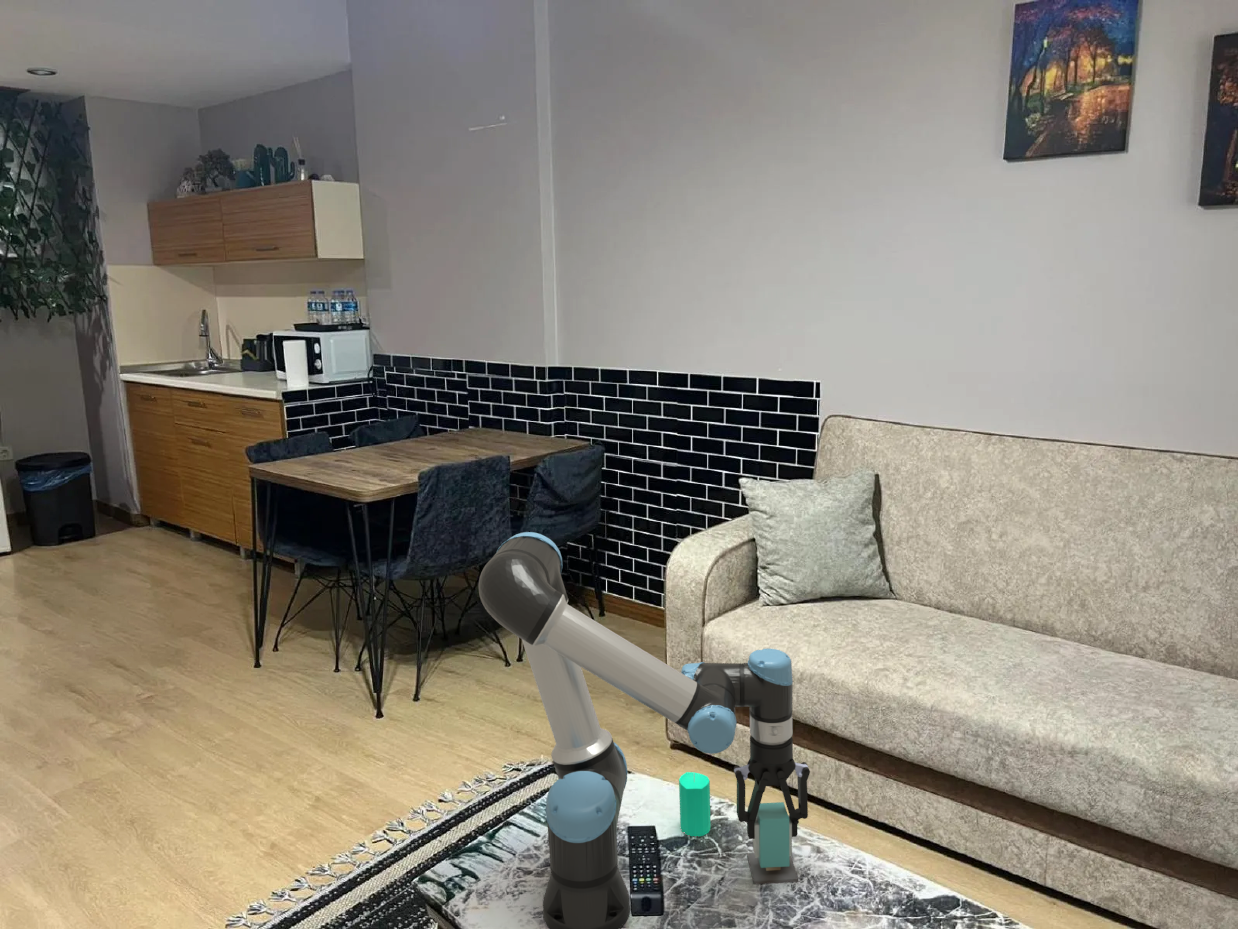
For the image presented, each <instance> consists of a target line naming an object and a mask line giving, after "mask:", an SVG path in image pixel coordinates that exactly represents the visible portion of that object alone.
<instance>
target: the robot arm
mask: <svg viewBox="0 0 1238 929" xmlns="http://www.w3.org/2000/svg"><path fill="white" fill-rule="evenodd" d="M562 571H563V557H562V554H561V551H560V549H559V547H558V546H557V545H556V543H555V542H554V541H553V540H552V539H550V538H549V537H548V536H545V535H543V534H541V533H537V532H533V531H530V532H529V531H524V532H520V533H517V534H515V535H513V536H511V537H509V538H508V539H507V540H505V541H504V542H503V543H501V545H500V546H499V547H498V548H497V550H496V553H495V554H494V555H493V556H492V558H491V559H490V560H489V561H488V562H487V563H486V564H485V565H484V567H483V569H482V571H481V573H480V576H479V580H478V593H479V598H480V601H481V603H482V605H483V608H484V609H485V610H486V612H487V613H488V614H489V615H490V616H491V617H492V618H493V619H494V620H495V621H496V622H497V623H498V624H499V625H500V626H502V627H503V628H505V629H506V630H507V631H509V632H510V633H512V634H513V635H515V636H516V637H517V638H520V639H521V642H522V645H523V647H524V648H523V649H524V650H525V653H526V656H527V660H528V662H529V665H530V669H531V671H532V674H533V678H534V681H535V684H536V687H537V690H538V693H539V696H540V699H541V702H542V704H543V708H544V711H545V714H546V718H547V720H548V723H549V726H550V729H551V732H552V736H553V738H554V742H555V745H554V746H553V748H552V750H551V754H550V755H551V759H552V762H553V765H554V768H555V771H556V775H557V778H558V779H556V781H555V782H554V783H553V784H552V785H551V787H550V788H549V790H548V793H547V795H546V804H545V816H546V819H545V820H546V822H547V823H546V824H547V836H548V838H547V839H548V851H549V864H550V866H549V867H550V874H549V878H548V880H547V884H546V888H545V892H544V894H543V899H542V915H543V916H542V917H543V920H544V923H545V925H546V927H547V928H548V929H621V928H622V927H623V926H624V925H625V924H626V922H627V920H628V919H629V916H630V911H631V905H630V904H631V902H630V901H631V900H630V898H631V897H630V893H629V889H628V887H627V885H626V882H625V881H624V878H623V876H622V874H621V870H620V869H619V859H618V858H619V857H618V838H617V836H618V835H617V832H618V824H619V818H620V817H619V816H620V812H621V811H620V810H621V807H622V802H623V801H622V800H623V796H624V791H625V789H626V785H627V782H628V765H627V764H628V763H627V758H626V756H625V754H624V751H623V750H622V748H621V747H620V746H619V745H618V744H617V743H616V742H614V740H613V736H612V734H611V732H610V731H609V730H607V729H605V728H601V725H600V722H599V718H598V715H597V713H596V709H595V707H594V704H593V700H592V697H591V693H590V691H589V688H588V684H587V681H586V679H585V676H584V675H585V674H584V673H583V672H584V671H583V669H584V670H586V671H587V672H589V673H590V674H593V675H594V676H596V677H597V678H598V679H600V680H602V681H604V682H606V683H607V684H609V685H610V686H612V687H614V688H616V689H617V690H618V691H621V692H622V693H624V694H626V695H628V696H629V697H630V698H632V699H634V700H636V701H637V702H639V703H641V704H642V705H644V706H645V707H647V708H649V709H651V710H652V711H654V712H655V713H657V714H659V715H661V716H662V717H664V718H666V719H667V720H669V721H671V722H673V723H674V724H676V725H677V726H678V727H679V728H681V729H683V730H686V731H687V733H688V737H689V740H690V741H691V743H692V745H693V746H694V747H695V748H696V749H697V750H698V751H700V752H702V753H705V754H710V755H711V754H718V753H723V752H724V751H726V750H727V749H728V748H729V747H730V746H731V745H732V744H733V741H734V740H735V736H736V735H735V734H736V728H737V723H738V722H737V718H736V708H745V707H749V734H750V737H749V760H748V761H747V764H746V765H743V766H740V765H735V766H733V772H734V777H735V779H736V815H737V819H738V821H739V822H740V823H743V822H746V833H747V837H748V839H749V840H752V850H753V853H754V854H755V858H756V857H759V823H758V820H757V813H758V810H759V806H760V803H762V798H763V795H764V793H765V791H766V789H767V788H766V787H771V786H779V787H780V788H781V792H782V795H783V798H784V801H785V802H784V803H785V805H786V808H787V809H786V810H787V811H788V812H787V813H788V817H789V856H791V857H792V856H793V838H797V837H798V834H799V833H798V824H800V823H799V821H800V820H802V819H803V820H805V819H807V818H808V817H809V810H808V809H809V808H808V807H809V806H808V805H809V804H808V779H809V777H810V773H811V770H810V768H809V766H808V763H807V762H806V761H803V762H801V763H799V762H795V760H794V756H793V755H794V752H793V751H794V750H793V749H794V748H793V747H794V746H793V745H794V744H793V741H794V740H793V687H794V686H793V682H794V681H793V669H792V668H793V667H792V664H793V663H792V659H791V658H790V656H789V654H787V653H786V652H784V651H782V650H780V649H777V648H763V649H756V650H754V651H752V652H751V653H750V654H749V656H748V660H747V662H743V663H736V662H735V663H732V662H731V663H730V662H729V663H728V662H727V663H726V662H723V663H722V662H705V661H704V662H703V661H701V662H695V663H694V662H693V663H692V662H691V663H686V664H684V665H682V668H681V670H680V671H679V670H677V669H676V668H673V667H672V666H671V665H668V664H667V663H665V662H664V661H662V660H661V659H659V658H657V657H655V656H654V655H652V654H651V653H649V652H647V651H646V650H644V649H642V648H641V647H639V646H637V645H636V644H634V643H632V642H631V641H630V640H627V639H626V638H624V637H623V636H621V635H619V634H617V633H616V632H614V631H612V630H611V629H609V628H608V627H606V626H604V625H603V624H601V623H599V622H598V621H596V620H595V619H592V618H591V617H590V616H587V615H586V614H584V613H583V612H581V611H579V610H578V609H577V608H574V607H573V606H571V605H569V604H568V602H569V598H568V594H567V591H566V588H565V585H564V581H563V578H562V575H561V574H562ZM794 771H795V774H796V776H797V804H798V808H795V805H794V802H793V799H792V795H791V792H790V789H789V785H788V782H787V780H788V779H789V777H790V776H791V775H792V774H793V772H794ZM749 773H751V775H752V776H753V777H754V785H753V788H752V792H751V793H752V794H751V797H750V799H749V802H748V803H749V804H748V807H747V810H746V782H745V781H746V780H747V779H748V774H749Z"/></svg>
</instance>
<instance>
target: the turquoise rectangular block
mask: <svg viewBox="0 0 1238 929" xmlns="http://www.w3.org/2000/svg"><path fill="white" fill-rule="evenodd" d="M785 805H786V804H785V802H784V801H782V802H781V801H778V802H761V803H760V806H759V810H758V813H757V820H758V823H759V857H758V859H759V863H760V867H761V868H767V867H787V866H789V817H788V815H789V813H788V812H787V811H788V810H787V809H786V808H787V807H786V806H785Z"/></svg>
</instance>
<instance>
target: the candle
mask: <svg viewBox="0 0 1238 929" xmlns="http://www.w3.org/2000/svg"><path fill="white" fill-rule="evenodd" d="M710 785H711V782H710V778H709V776H708V775H705V774H703V773H699V772H692V771H686V772H684V773H683V774H682V775H680V777H679V779H678V791H679V792H678V793H679V823H680V824H679V825H680V827H681V828H680V830H681V829H682V830H681V832H682V833H683V832H685V835H686V834H687V836H688V835H690V836H689V837H693V836H695V837H694V838H697V837H696V836H698V837H703V836H706V835H707V834H709V833H710V830H711V828H712V826H711V825H712V824H711V786H710Z"/></svg>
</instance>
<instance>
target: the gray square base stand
mask: <svg viewBox="0 0 1238 929" xmlns="http://www.w3.org/2000/svg"><path fill="white" fill-rule="evenodd" d="M746 855H747V856H746V857H747V861H748V866H749V870H750V872H751V873H750V874H751V877H752V882H753V884H754V885H762V884H781V883H784V884H785V883H799V877H798V873H797V869H796V867H795V864H794V861H793V857H792V856H789V866H787V867H767V868H761V867H760V863H759V859H758V857H756V858H755V854H754V852H750V853H746Z"/></svg>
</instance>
